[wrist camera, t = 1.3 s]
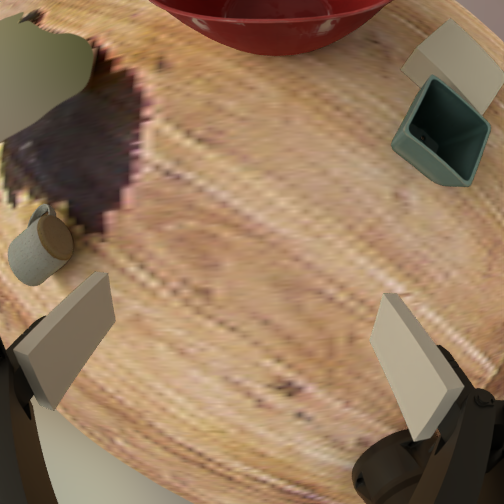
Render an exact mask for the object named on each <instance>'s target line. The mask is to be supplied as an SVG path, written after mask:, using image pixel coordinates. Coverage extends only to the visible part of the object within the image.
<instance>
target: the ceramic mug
mask: <svg viewBox="0 0 504 504" xmlns="http://www.w3.org/2000/svg"><path fill="white" fill-rule="evenodd" d="M47 211H48V212H49V213H48V214H49V215H45V216H42V215H43V214H44V213H46V212H47ZM41 216H42V217H41ZM73 247H74V245H73V240H72V236H71V234H70V232H69V230H68V228H67V226H66V225H65V224H64V223H63V222H62V221H61V220H60V219H58V218H57V217H56V212H55V209H54V208H53V207H51V206H50V205H48V204H43V205H41V206H39V207H38V208H37V209H36V210H35V211H34V213H33V214H32V216H31V218H30V220H29V223H28V227H27V229H26V230H24V231H23V232H22V233H21V234H20V235H19V236H17V237H16V238H15V239H14V240H13V241H12V242H11V244H10V246H9V249H8V261H9V265H10V267H11V269H12V271H13V273H14V274H15V276H16V277H17V278H18V279H19V280H20V281H21V282H23V283H24V284H26V285H29V286H38V285H40V284H41V283H43V282H44V281H45V280H46V279H47V278H49V277H50V276H51V275H52V274H53V273H55V272H56V271H57V270H58V269H59V268H61V267H62V266H63V265H64V264H65V263H66V262H67V261H68V260H69V259H70V257H71V256H72V254H73Z"/></svg>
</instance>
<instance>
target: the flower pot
mask: <svg viewBox="0 0 504 504" xmlns="http://www.w3.org/2000/svg"><path fill="white" fill-rule="evenodd" d="M490 132H491V125H490V123H489V122H488V121H487V120H486V119H485V118H484V117H483V116H482V115H481V114H479V112H477V111H476V110H475V109H474V108H473V107H472V106H471V105H470V104H469V103H468V102H466V101H465V100H464V99H463V98H462V97H461V96H460V95H459V94H457V93H456V92H455V91H454V90H453V89H452V88H450V87H449V86H448V85H447V84H446V83H444V82H443V81H442V80H441V79H439V78H438V77H436V76H435V75H433V74H431V75H430V76H429V78H428V79H427V80H426V82H425V83H424V85H423V86H422V88H421V89H420V91H419V92H418V94H417V95H416V97H415V99H414V101H413V103H412V105H411V107H410V109H409V111H408V112H407V114H406V116H405V118H404V120H403V122H402V124H401V126H400V127H399V129H398V131H397V133H396V135H395V137H394V138H393V140H392V143H391V146H392V149H393V150H394V151H395V152H396V153H397V154H398V155H400V156H401V157H402V158H404V159H405V160H406V161H408V162H409V163H410V164H411V165H413V166H414V167H415V168H416V169H418V170H419V171H420V172H421V173H422V174H424V175H425V176H426V177H427V178H429V179H430V180H431V181H433V182H435V183H437V184H439V185H442V186H453V187H469V186H471V184H472V181H473V179H474V176H475V174H476V171H477V168H478V165H479V163H480V160H481V157H482V154H483V151H484V148H485V145H486V143H487V140H488V137H489V134H490ZM421 137H424V140H422V138H421Z"/></svg>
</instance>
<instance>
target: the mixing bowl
mask: <svg viewBox="0 0 504 504" xmlns="http://www.w3.org/2000/svg"><path fill="white" fill-rule="evenodd" d="M149 1H150V2H152V3H153V4H155V5H156V6H158V7H160V8H162V9H164V10H166V11H167V12H169V13H170V14H171V15H173V16H174V17H176V18H177V19H178V20H180V21H181V22H183V23H184V24H186V25H187V26H189V27H191V28H192V29H194V30H196V31H198V32H199V33H201V34H203V35H205V36H206V37H208V38H210V39H212V40H215V41H217V42H219V43H221V44H224V45H226V46H229V47H232V48H235V49H237V50H240V51H244V52H248V53H253V54H258V55H270V56H284V55H296V54H301V53H306V52H310V51H314V50H316V49H319V48H322V47H324V46H327V45H329V44H332V43H334V42H335V41H337V40H339V39H341V38H343V37H344V36H346V35H348V34H349V33H351V32H353V31H354V30H356V29H357V28H359V27H360V26H362V25H363V24H364V23H366V22H367V21H368V20H369V19H371V18H372V17H373V16H374V15H375V14H376V13H377V12H379V11H380V10H381V9H382V8H383V7H384V6H385V5H386V4H388V3H390V2H391V1H393V0H149Z"/></svg>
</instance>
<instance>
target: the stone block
mask: <svg viewBox="0 0 504 504" xmlns="http://www.w3.org/2000/svg"><path fill="white" fill-rule="evenodd" d="M400 70H401V71H403V72H404V73H405V74H406V75H407V76H408V77H409V78H410V79H411V80H412V81H413V82H414V83H415V84H417V85H418V86H419V87H420V88H422V86H423V85H424V83H425V82H426V80H427V79H428V78H429V76H430V75H431V74H433V75H435V76H436V77H438V78H439V79H441V80H442V81H443V82H444V83H446V84H447V85H448V86H449V87H450V88H452V89H453V90H454V91H455V92H456V93H457V94H459V95H460V96H461V97H462V98H463V99H464V100H465V101H466V102H468V103H469V104H470V105H471V106H472V107H473V108H474V109H475V110H476V111H477V112H479V114H481V115H483V114H484V112H485V111H486V109H487V108H488V106H489V105H490V103H491V102H492V100H493V99H494V97H495V96H496V94H497V93H498V91H499V90H500V88H501V86H502V85H503V83H504V72H503V71H502V70H501V68H500V67H499V66H498V65H497V64H496V63H495V61H494V60H493V59H492V58H491V57H490V56H489V55H488V54H487V53H486V52H485V51H484V49H483V48H482V47H481V46H480V45H479V44H478V43H477V42H476V41H475V40H474V39H473V38H472V37H471V36H470V35H469V34H468V33H467V32H465V31H464V30H463V29H462V28H461V27H460V26H459V25H458V24H457V23H456V22H455V21H453V20H452V19H451V18H450V19H449V20H447V21H446V22H445V23H444V24H443V25H442V26H440V27H439V28H438V29H437V30H436V31H434V32H433V33H432V34H431V35H430V36H429V37H428V38H426V39H425V40H424V41H423V42H422V43H421V44H419V45H418V46H417V47H416V48H415V50H414V51H413V53H412V54H411V55H410V57H409V58H408V60H407V61H406V62H405V64H404V65H403V67H402V68H401V69H400Z"/></svg>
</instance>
